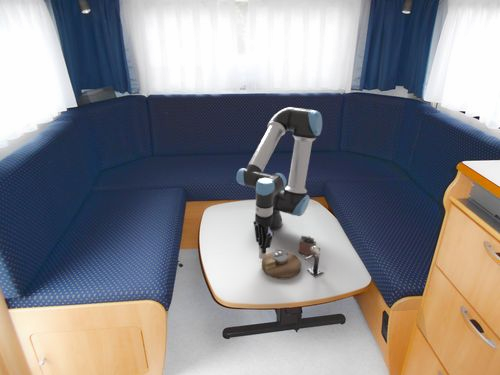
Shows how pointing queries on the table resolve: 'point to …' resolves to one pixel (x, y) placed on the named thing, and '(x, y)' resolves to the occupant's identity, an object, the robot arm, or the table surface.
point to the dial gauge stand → (315, 261)
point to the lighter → (306, 245)
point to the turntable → (281, 271)
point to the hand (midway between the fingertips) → (262, 257)
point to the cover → (280, 257)
